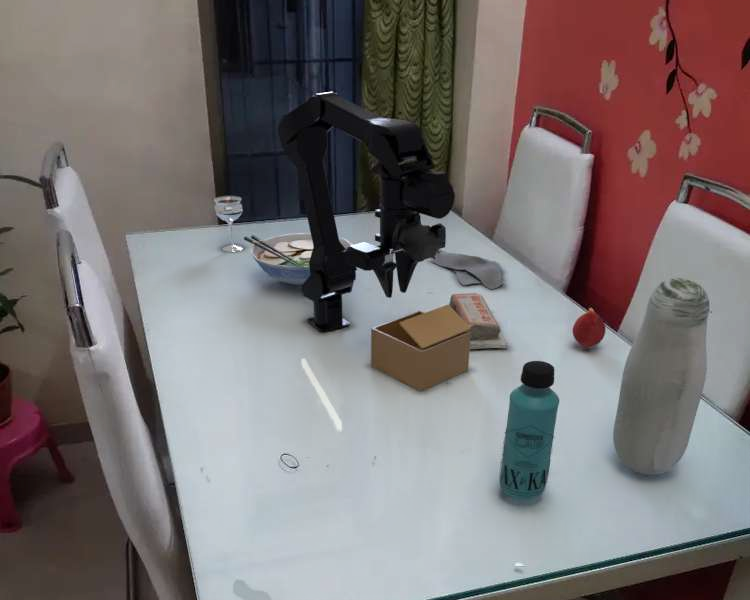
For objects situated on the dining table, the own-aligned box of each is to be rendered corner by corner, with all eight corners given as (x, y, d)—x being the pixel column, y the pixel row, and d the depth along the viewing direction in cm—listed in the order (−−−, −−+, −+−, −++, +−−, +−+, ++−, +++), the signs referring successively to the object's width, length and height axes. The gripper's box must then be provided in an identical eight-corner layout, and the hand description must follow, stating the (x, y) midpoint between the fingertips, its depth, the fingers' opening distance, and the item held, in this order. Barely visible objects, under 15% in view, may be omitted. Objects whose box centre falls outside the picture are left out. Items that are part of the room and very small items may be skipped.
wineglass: (219, 244, 198) (214, 196, 191) (246, 243, 198) (242, 195, 192) (218, 253, 192) (212, 203, 185) (245, 252, 193) (241, 203, 186)
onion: (604, 345, 148) (611, 305, 144) (598, 357, 144) (605, 317, 140) (574, 339, 150) (580, 300, 146) (567, 351, 146) (572, 311, 142)
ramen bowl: (377, 287, 173) (377, 250, 169) (286, 310, 162) (284, 272, 158) (319, 255, 191) (318, 222, 186) (233, 274, 180) (230, 239, 175)
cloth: (524, 285, 174) (525, 275, 173) (468, 292, 171) (469, 282, 169) (473, 248, 195) (474, 239, 194) (422, 255, 191) (423, 245, 190)
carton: (468, 370, 140) (471, 332, 136) (420, 391, 133) (422, 352, 129) (418, 347, 148) (419, 310, 144) (371, 366, 141) (371, 328, 137)
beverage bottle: (492, 483, 110) (505, 355, 100) (539, 481, 111) (557, 353, 100) (503, 511, 105) (518, 378, 94) (551, 508, 106) (572, 376, 95)
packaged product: (440, 291, 158) (489, 289, 159) (439, 313, 161) (487, 312, 162) (456, 327, 143) (510, 326, 144) (455, 352, 146) (507, 349, 147)
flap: (470, 329, 135) (471, 328, 135) (422, 349, 129) (422, 347, 129) (447, 305, 137) (448, 304, 137) (398, 323, 131) (399, 322, 131)
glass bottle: (694, 479, 111) (744, 292, 96) (630, 491, 109) (672, 301, 94) (654, 443, 119) (695, 265, 104) (594, 453, 117) (627, 273, 102)
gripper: (388, 227, 119) (387, 323, 128) (471, 204, 129) (465, 294, 138) (341, 212, 126) (343, 303, 135) (424, 191, 136) (421, 277, 145)
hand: (395, 294), depth 138 cm, fingers open, 3 cm apart
